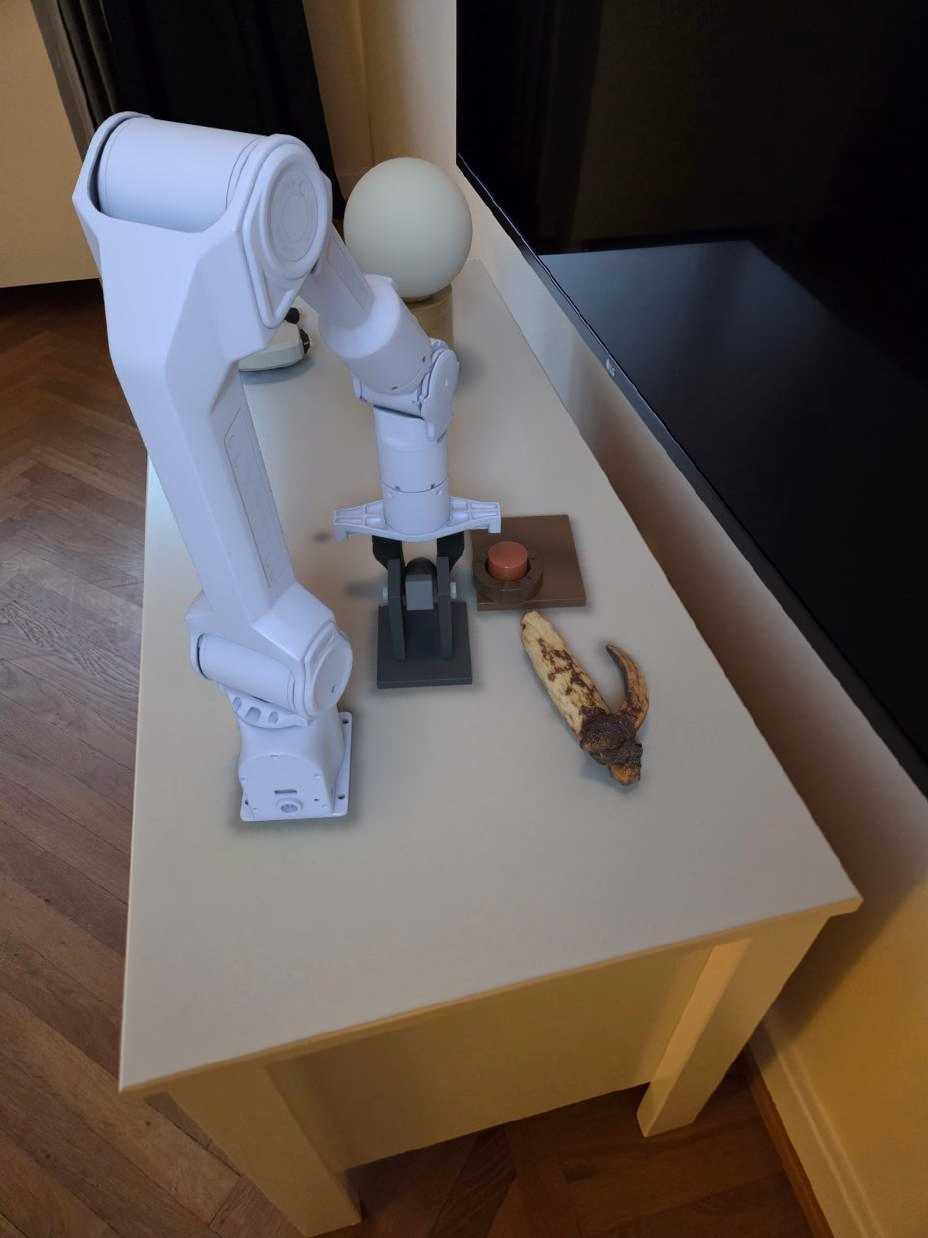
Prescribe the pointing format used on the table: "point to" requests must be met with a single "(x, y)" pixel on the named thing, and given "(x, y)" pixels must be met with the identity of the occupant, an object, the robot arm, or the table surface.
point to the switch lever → (420, 584)
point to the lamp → (412, 236)
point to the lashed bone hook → (590, 699)
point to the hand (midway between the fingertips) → (422, 588)
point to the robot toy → (281, 346)
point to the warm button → (507, 561)
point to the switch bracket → (422, 636)
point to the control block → (530, 565)
